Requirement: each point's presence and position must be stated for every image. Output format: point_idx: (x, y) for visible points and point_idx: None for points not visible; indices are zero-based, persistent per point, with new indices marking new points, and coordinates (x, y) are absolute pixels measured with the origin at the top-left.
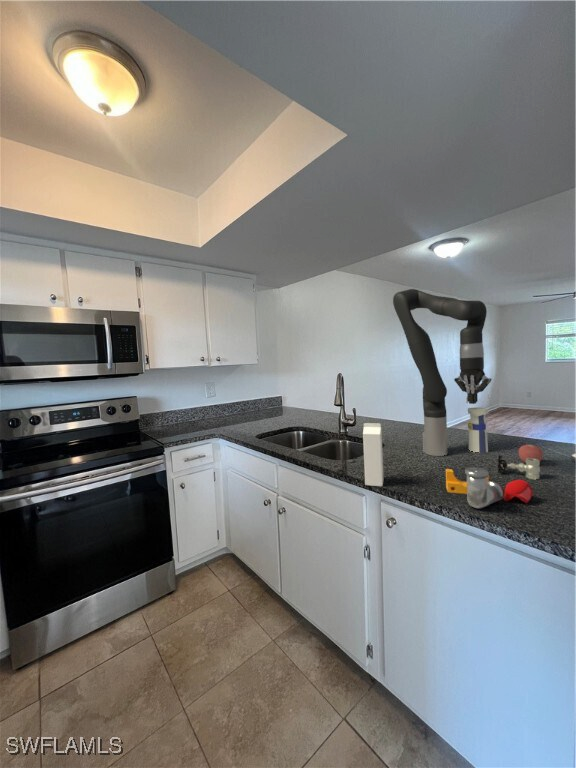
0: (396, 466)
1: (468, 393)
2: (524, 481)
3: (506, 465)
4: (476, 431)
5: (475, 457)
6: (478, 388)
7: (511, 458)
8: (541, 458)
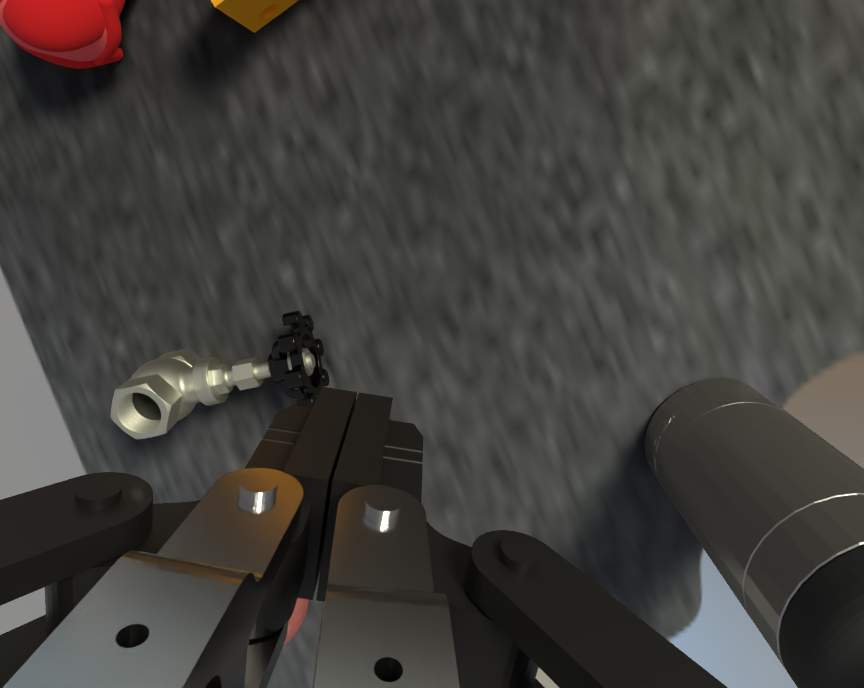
0: (833, 29)
1: (379, 488)
2: (5, 2)
3: (270, 355)
4: (550, 685)
5: (501, 498)
6: (29, 539)
7: None
8: None
